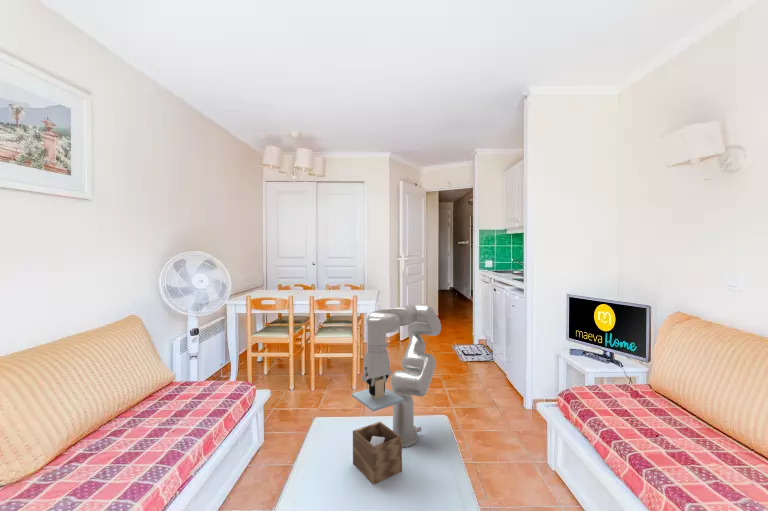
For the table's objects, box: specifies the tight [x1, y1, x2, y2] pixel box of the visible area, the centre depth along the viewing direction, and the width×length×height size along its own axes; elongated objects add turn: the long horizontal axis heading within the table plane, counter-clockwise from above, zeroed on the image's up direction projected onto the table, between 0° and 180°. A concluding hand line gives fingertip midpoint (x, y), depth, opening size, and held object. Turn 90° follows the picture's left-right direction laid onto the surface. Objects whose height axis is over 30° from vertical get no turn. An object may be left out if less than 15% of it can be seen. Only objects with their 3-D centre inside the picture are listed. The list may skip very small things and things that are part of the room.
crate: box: [352, 421, 403, 486], centre depth 138 cm, size 13×15×14 cm
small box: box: [370, 436, 385, 446], centre depth 138 cm, size 8×6×10 cm
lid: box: [350, 377, 404, 412], centre depth 138 cm, size 14×16×9 cm
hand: (377, 392), depth 138 cm, fingers closed on lid, 4 cm apart
